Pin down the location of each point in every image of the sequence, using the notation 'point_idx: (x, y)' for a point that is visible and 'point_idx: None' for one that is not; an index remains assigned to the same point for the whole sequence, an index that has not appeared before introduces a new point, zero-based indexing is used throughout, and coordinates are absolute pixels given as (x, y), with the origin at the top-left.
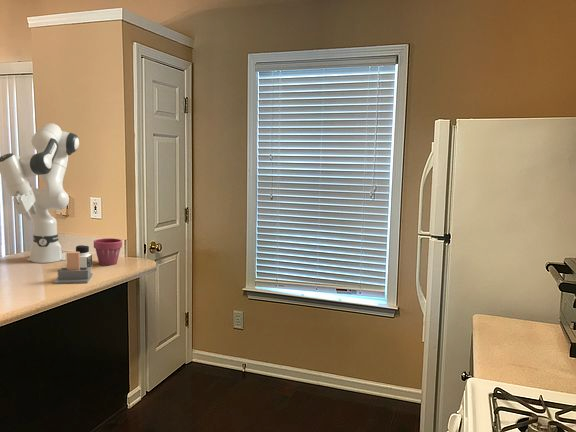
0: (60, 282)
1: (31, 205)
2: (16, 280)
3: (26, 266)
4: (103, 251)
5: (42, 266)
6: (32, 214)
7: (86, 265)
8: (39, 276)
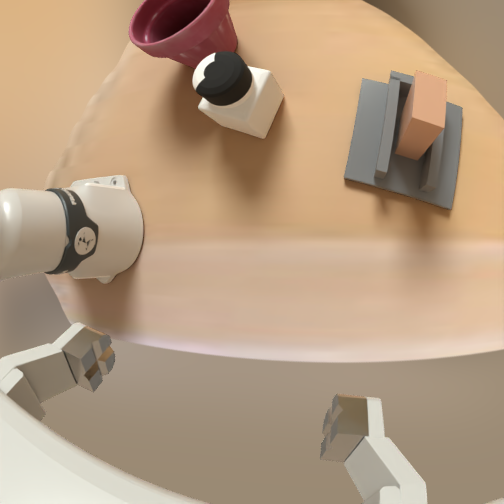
0: (453, 187)
1: (138, 499)
2: (355, 328)
3: (168, 290)
4: (220, 26)
5: (181, 242)
6: (113, 358)
7: (279, 89)
8: (326, 254)
